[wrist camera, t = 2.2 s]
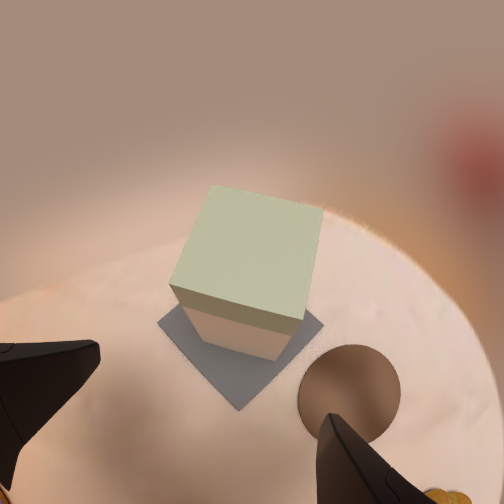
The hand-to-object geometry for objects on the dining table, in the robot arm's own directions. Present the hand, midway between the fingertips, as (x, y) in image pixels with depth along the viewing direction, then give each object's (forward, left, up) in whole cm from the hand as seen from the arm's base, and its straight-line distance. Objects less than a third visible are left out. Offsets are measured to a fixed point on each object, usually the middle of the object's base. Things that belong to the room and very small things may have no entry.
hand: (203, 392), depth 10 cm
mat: (+5, +4, -13) cm, 15 cm away
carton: (+6, +4, -13) cm, 15 cm away
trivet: (+7, -7, -13) cm, 17 cm away
